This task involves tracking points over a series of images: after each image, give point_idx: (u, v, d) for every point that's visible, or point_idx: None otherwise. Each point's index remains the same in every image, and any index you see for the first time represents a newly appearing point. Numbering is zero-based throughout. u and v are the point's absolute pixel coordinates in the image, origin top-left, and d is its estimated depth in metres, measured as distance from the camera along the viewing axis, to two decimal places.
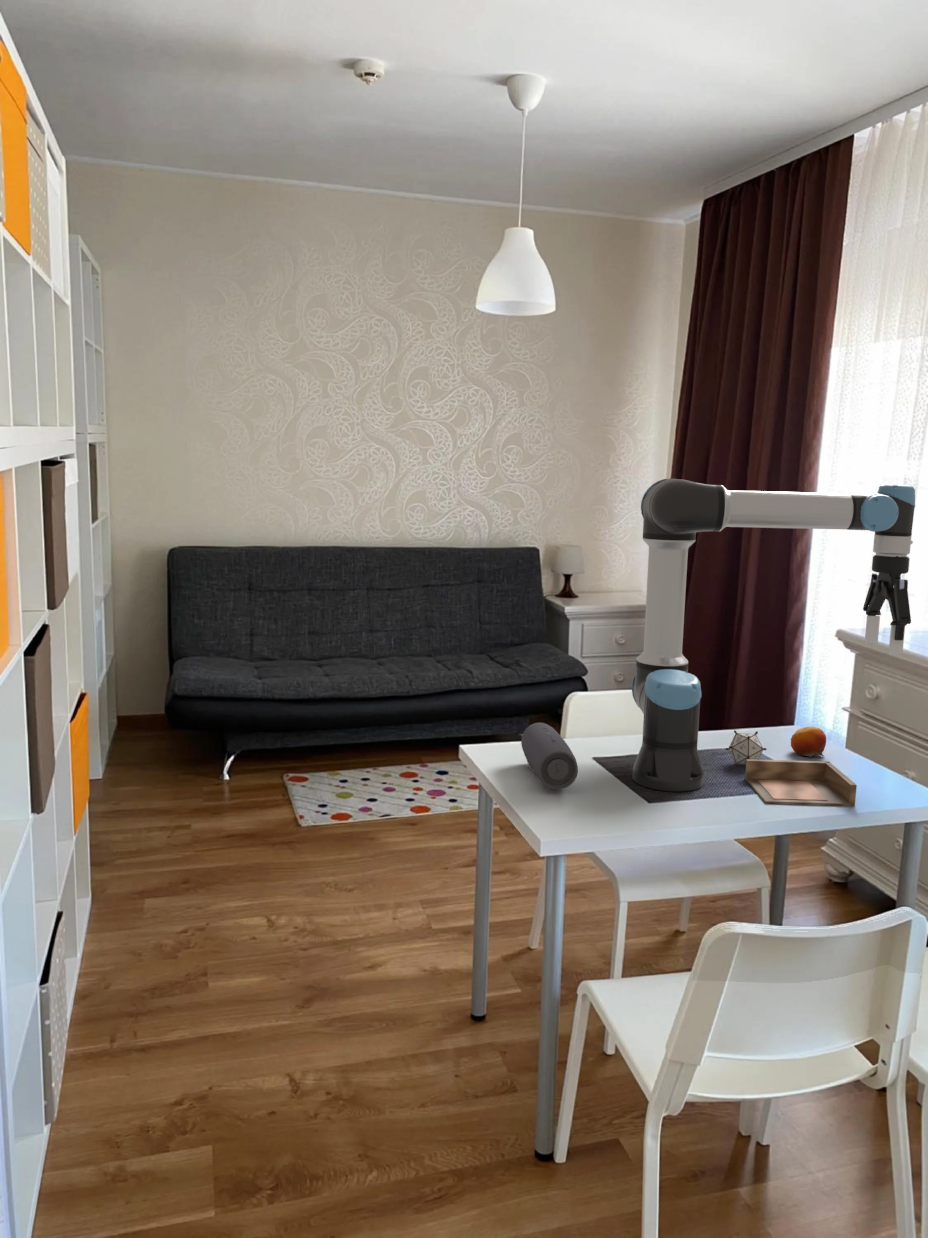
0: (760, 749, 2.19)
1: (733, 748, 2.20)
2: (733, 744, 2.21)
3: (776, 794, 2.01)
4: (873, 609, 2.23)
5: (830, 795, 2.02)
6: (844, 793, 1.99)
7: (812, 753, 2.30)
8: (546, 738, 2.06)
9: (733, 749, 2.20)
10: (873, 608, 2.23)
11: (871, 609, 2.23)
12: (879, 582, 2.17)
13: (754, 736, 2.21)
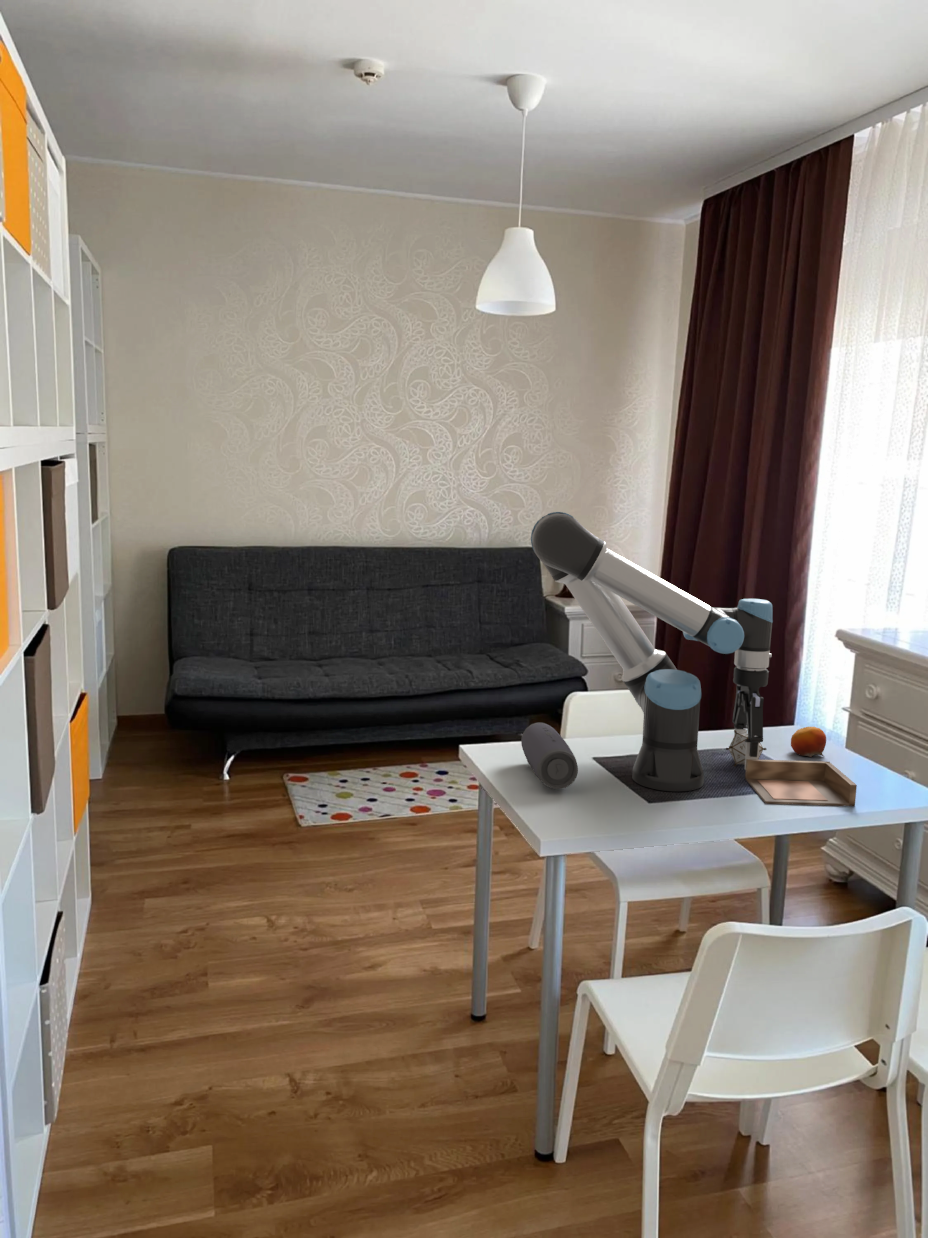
0: (760, 749, 2.19)
1: (733, 748, 2.20)
2: (733, 744, 2.21)
3: (776, 794, 2.01)
4: (740, 722, 2.26)
5: (830, 795, 2.02)
6: (844, 793, 1.99)
7: (812, 753, 2.30)
8: (546, 738, 2.06)
9: (733, 749, 2.20)
10: (740, 720, 2.26)
11: (738, 722, 2.26)
12: (740, 693, 2.21)
13: None
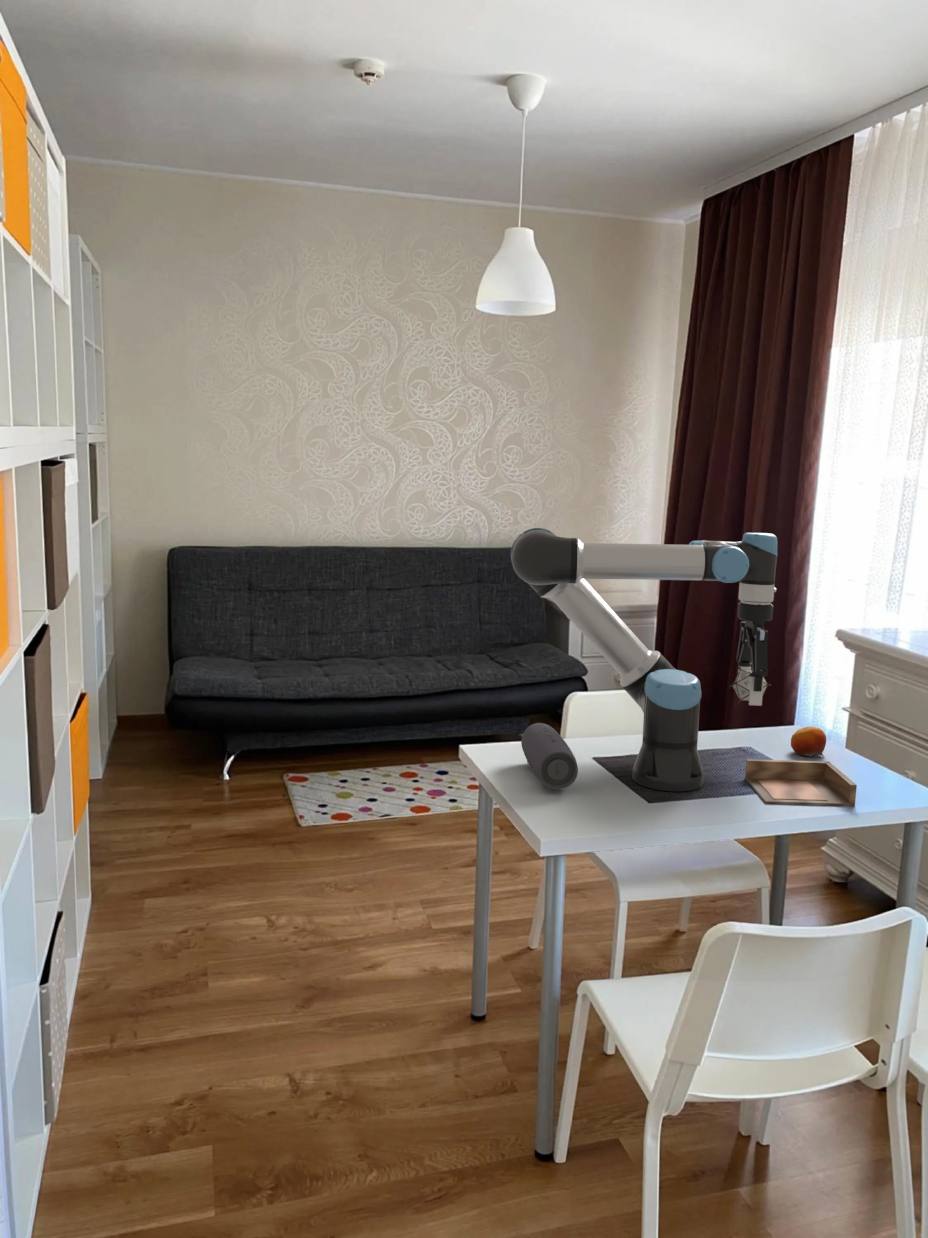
0: (765, 685, 2.17)
1: (737, 684, 2.18)
2: (737, 680, 2.18)
3: (776, 794, 2.01)
4: (744, 659, 2.24)
5: (830, 795, 2.02)
6: (844, 793, 1.99)
7: (812, 753, 2.30)
8: (546, 739, 2.06)
9: (737, 685, 2.18)
10: (744, 658, 2.24)
11: (742, 659, 2.24)
12: (745, 628, 2.19)
13: None
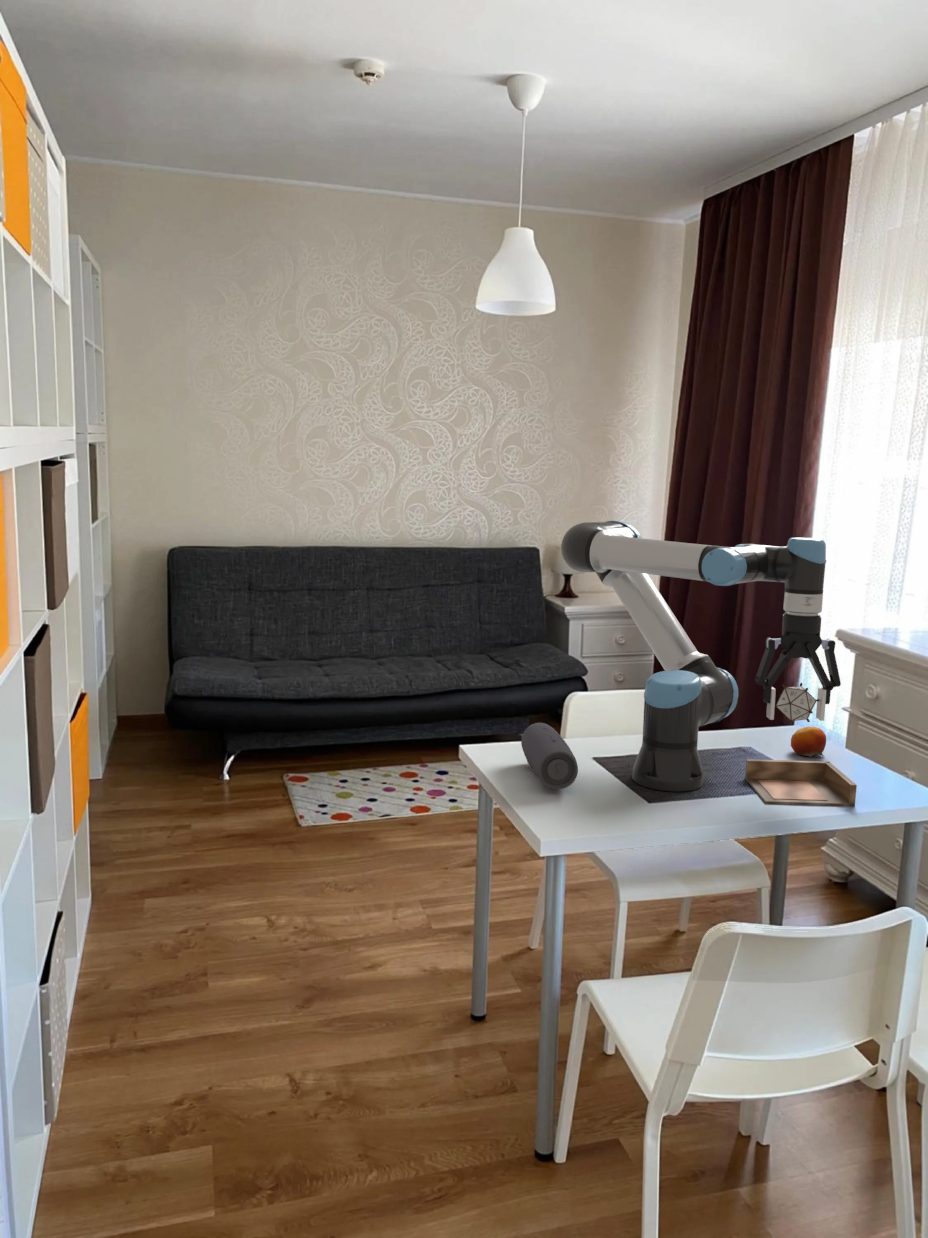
0: (787, 702, 2.00)
1: None
2: None
3: (776, 794, 2.01)
4: (820, 679, 2.02)
5: (830, 795, 2.02)
6: (844, 793, 1.99)
7: (812, 753, 2.30)
8: (546, 738, 2.06)
9: None
10: (819, 678, 2.02)
11: (819, 679, 2.03)
12: None
13: (799, 690, 2.00)
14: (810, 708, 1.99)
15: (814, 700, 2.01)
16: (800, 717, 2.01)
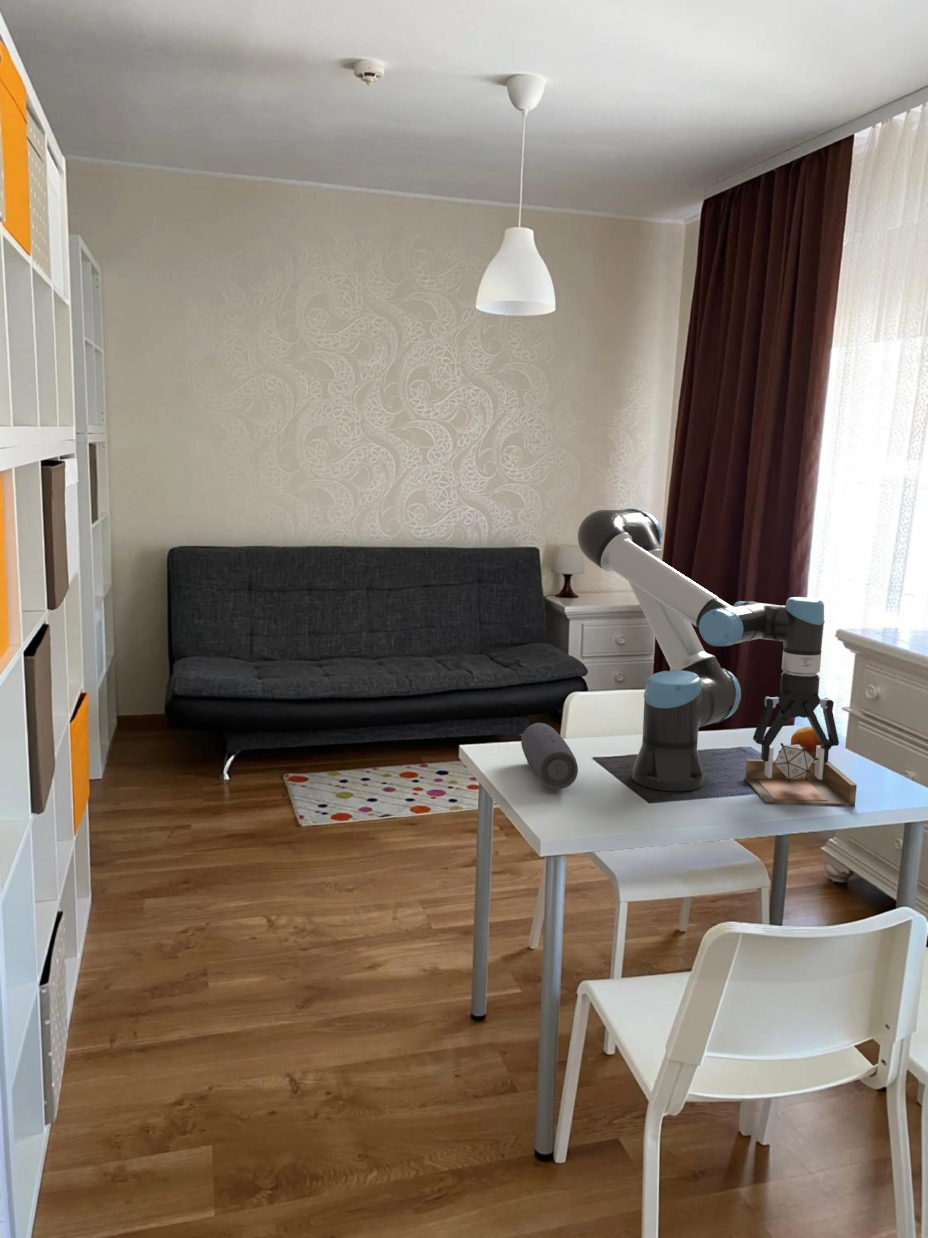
0: (785, 761, 2.01)
1: None
2: None
3: (776, 794, 2.01)
4: (818, 738, 2.03)
5: (830, 795, 2.02)
6: (844, 793, 1.99)
7: (812, 753, 2.30)
8: (546, 739, 2.06)
9: None
10: (817, 736, 2.03)
11: (817, 737, 2.03)
12: None
13: (797, 749, 2.01)
14: (808, 767, 2.00)
15: (812, 759, 2.02)
16: (798, 776, 2.01)
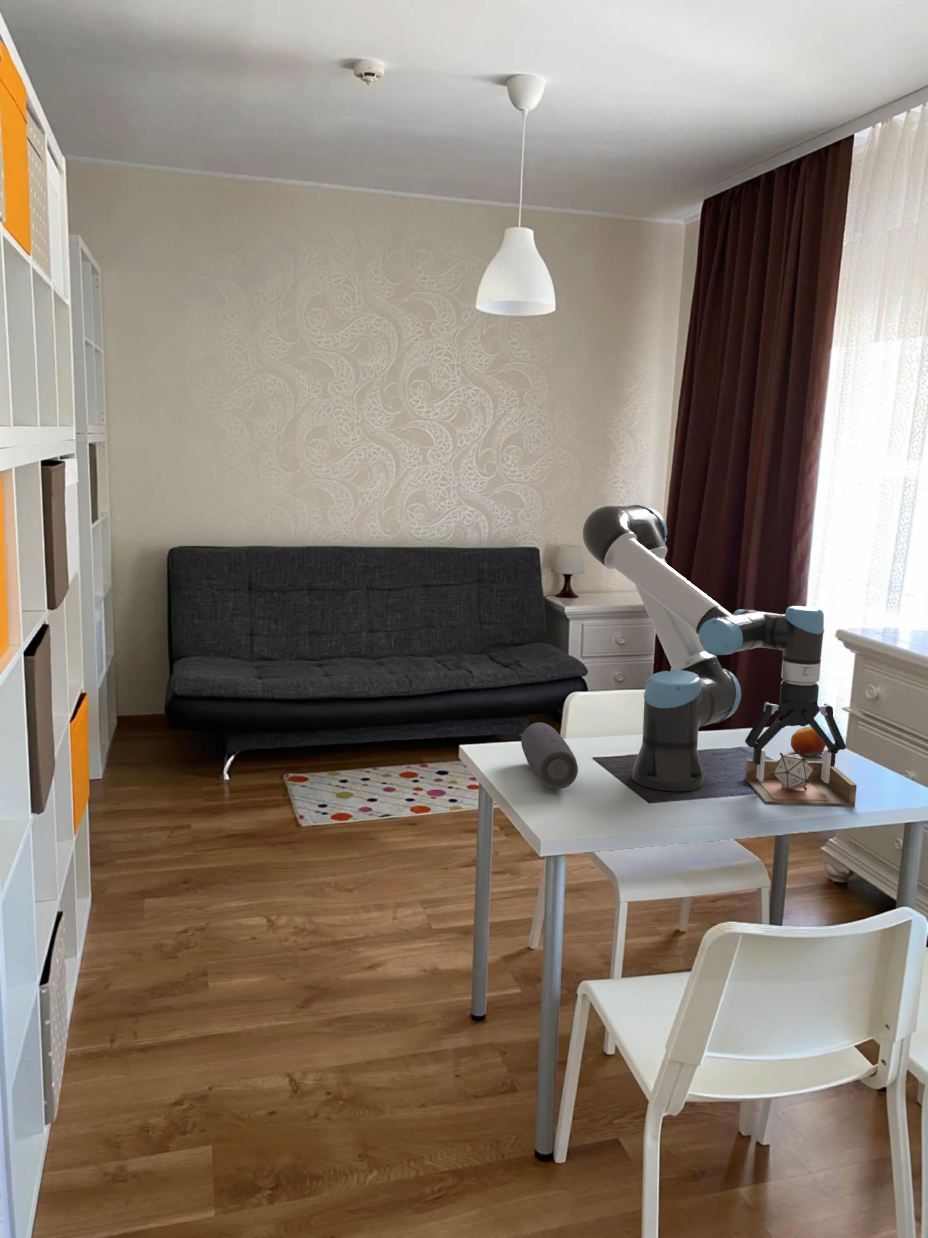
0: (784, 771, 2.01)
1: None
2: None
3: (776, 794, 2.01)
4: (824, 743, 2.03)
5: (830, 795, 2.02)
6: (844, 793, 1.99)
7: (812, 753, 2.30)
8: (546, 738, 2.06)
9: None
10: (823, 742, 2.03)
11: (823, 742, 2.03)
12: None
13: (796, 759, 2.01)
14: (807, 777, 2.00)
15: (811, 769, 2.03)
16: (797, 786, 2.02)
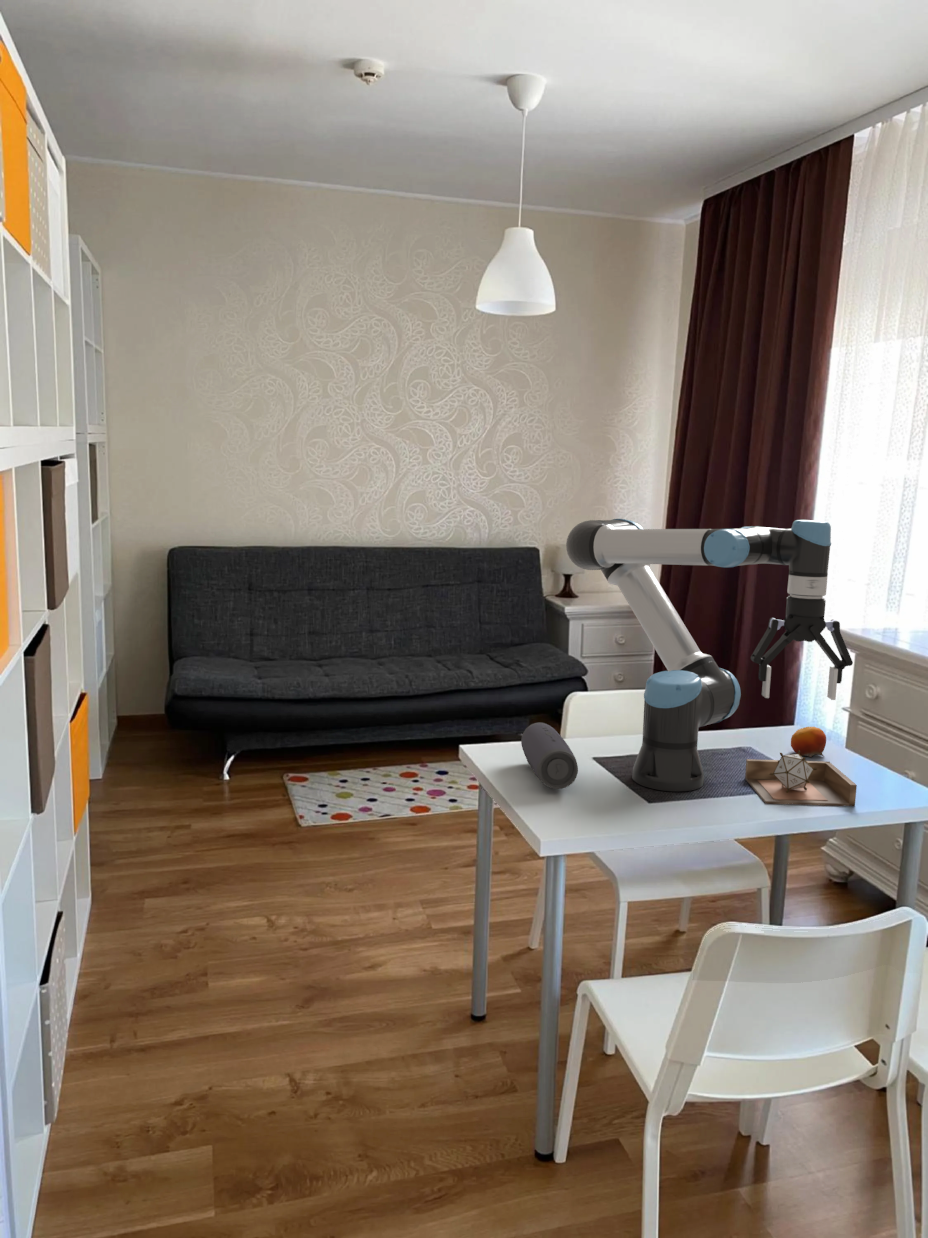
0: (784, 771, 2.01)
1: None
2: None
3: (776, 794, 2.01)
4: (830, 659, 2.00)
5: (830, 795, 2.02)
6: (844, 793, 1.99)
7: (812, 753, 2.30)
8: (546, 738, 2.06)
9: None
10: (829, 658, 2.00)
11: (830, 659, 2.01)
12: None
13: (796, 759, 2.01)
14: (807, 777, 2.00)
15: (811, 769, 2.03)
16: (797, 786, 2.02)
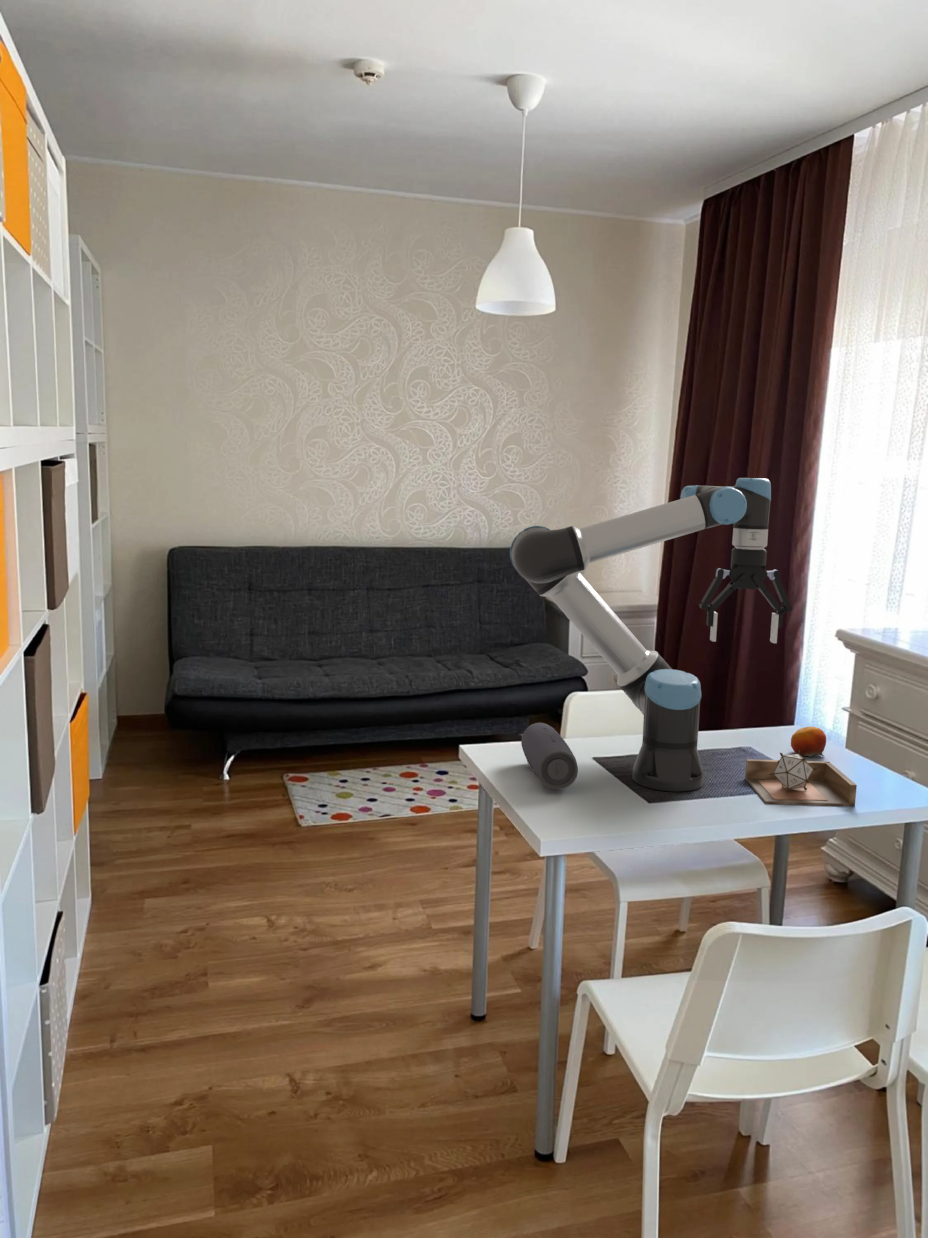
0: (784, 771, 2.01)
1: None
2: None
3: (776, 794, 2.01)
4: (772, 606, 2.18)
5: (830, 795, 2.02)
6: (844, 793, 1.99)
7: (812, 753, 2.30)
8: (546, 738, 2.06)
9: None
10: (771, 605, 2.19)
11: (772, 606, 2.19)
12: None
13: (796, 759, 2.01)
14: (807, 777, 2.00)
15: (811, 769, 2.03)
16: (797, 786, 2.02)
